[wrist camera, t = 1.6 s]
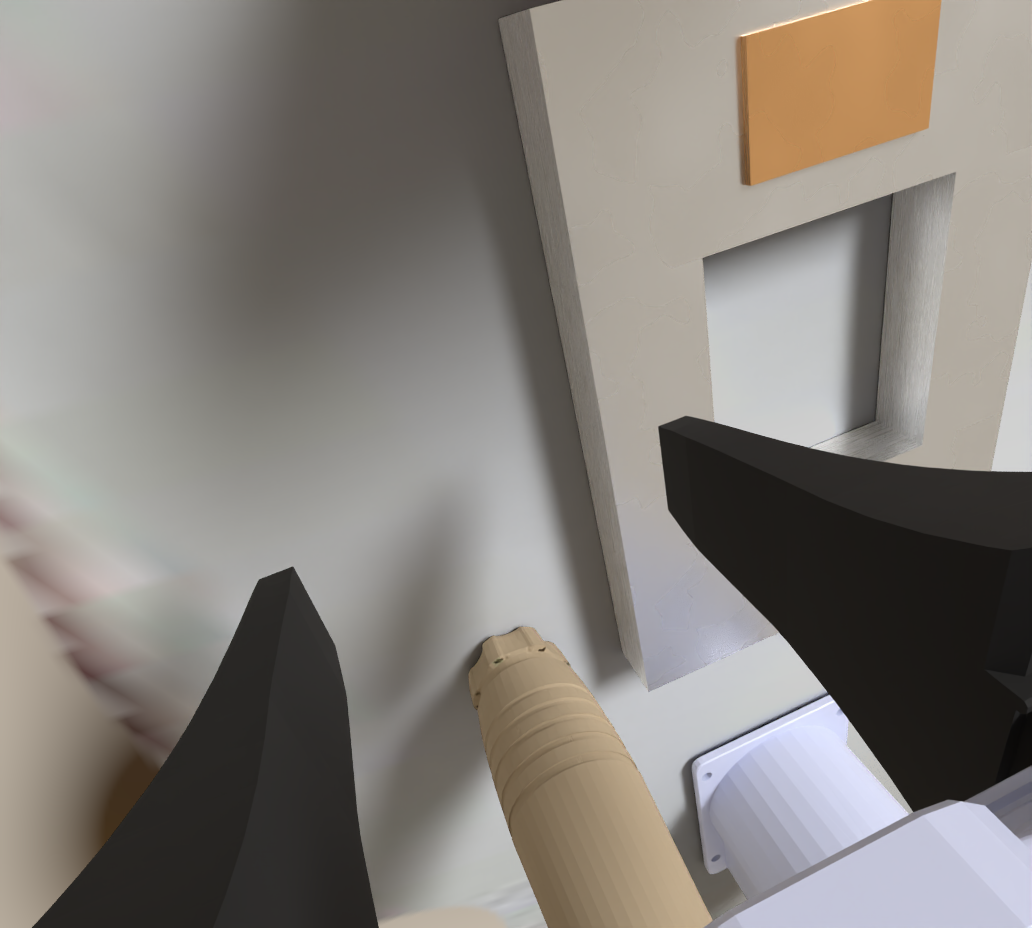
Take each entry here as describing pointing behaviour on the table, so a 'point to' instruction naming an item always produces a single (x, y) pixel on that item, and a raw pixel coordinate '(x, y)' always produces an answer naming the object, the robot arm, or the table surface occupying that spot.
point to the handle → (575, 796)
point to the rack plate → (756, 214)
